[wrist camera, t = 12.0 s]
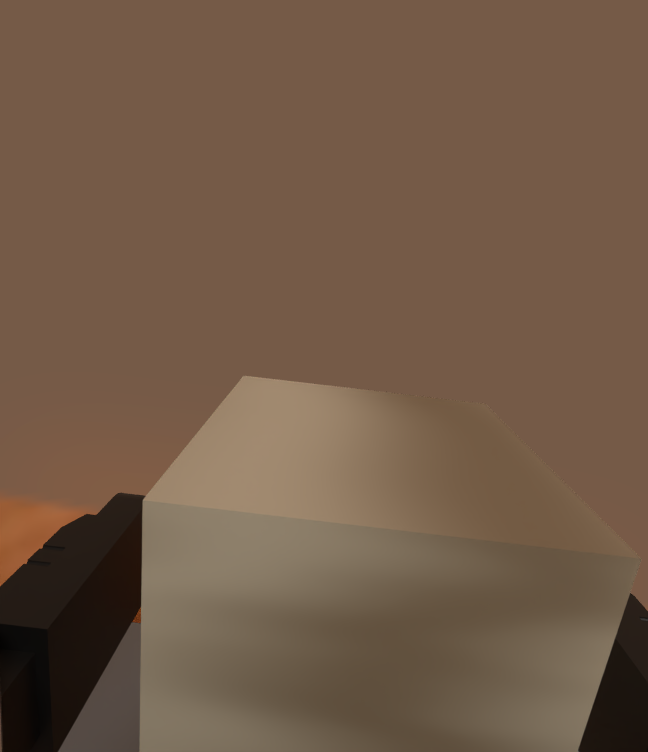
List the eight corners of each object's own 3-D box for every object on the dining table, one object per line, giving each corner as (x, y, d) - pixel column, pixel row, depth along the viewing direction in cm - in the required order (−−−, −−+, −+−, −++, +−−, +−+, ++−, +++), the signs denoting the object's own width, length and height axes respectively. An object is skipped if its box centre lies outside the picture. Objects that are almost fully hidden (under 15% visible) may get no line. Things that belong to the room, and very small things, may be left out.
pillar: (135, 1113, 7) (142, 500, 5) (216, 772, 12) (243, 375, 9) (444, 1151, 7) (641, 558, 5) (402, 795, 12) (485, 403, 9)
